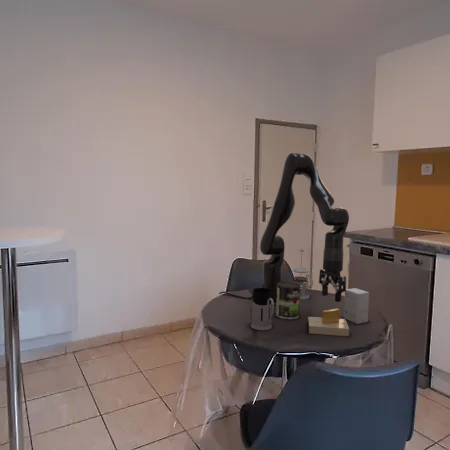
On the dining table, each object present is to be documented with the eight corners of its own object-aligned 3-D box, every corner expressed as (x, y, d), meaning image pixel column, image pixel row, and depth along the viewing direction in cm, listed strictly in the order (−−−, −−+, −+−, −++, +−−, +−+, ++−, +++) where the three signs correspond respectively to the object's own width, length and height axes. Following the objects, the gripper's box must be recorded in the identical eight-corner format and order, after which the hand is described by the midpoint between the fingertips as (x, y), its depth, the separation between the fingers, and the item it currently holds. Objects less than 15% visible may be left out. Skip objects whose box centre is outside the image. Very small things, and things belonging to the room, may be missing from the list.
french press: (298, 292, 206) (299, 247, 204) (316, 297, 198) (318, 249, 195) (286, 295, 200) (288, 248, 197) (305, 300, 191) (307, 251, 189)
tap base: (309, 333, 148) (309, 325, 148) (307, 323, 159) (308, 316, 159) (349, 336, 145) (349, 328, 145) (345, 326, 156) (345, 318, 156)
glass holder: (266, 321, 161) (267, 286, 159) (282, 333, 147) (283, 295, 146) (247, 323, 158) (247, 288, 156) (262, 336, 144) (263, 297, 143)
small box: (368, 322, 161) (369, 292, 160) (357, 324, 159) (358, 293, 157) (354, 316, 169) (355, 287, 167) (343, 318, 166) (344, 289, 165)
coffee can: (304, 317, 166) (305, 285, 165) (285, 320, 162) (286, 288, 160) (289, 310, 176) (290, 280, 174) (271, 313, 171) (272, 282, 169)
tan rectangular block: (324, 324, 150) (324, 311, 149) (321, 322, 151) (322, 309, 151) (339, 322, 152) (339, 309, 152) (336, 320, 154) (336, 308, 153)
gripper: (314, 255, 155) (313, 294, 156) (336, 262, 141) (334, 304, 143) (330, 254, 157) (328, 292, 159) (352, 261, 144) (350, 302, 146)
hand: (331, 298), depth 151 cm, fingers open, 8 cm apart
